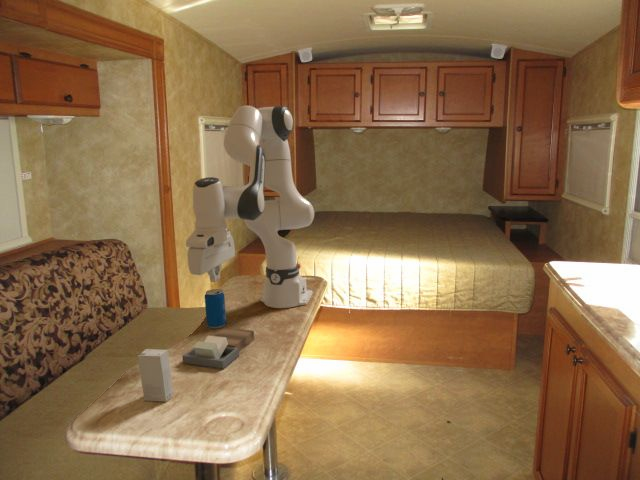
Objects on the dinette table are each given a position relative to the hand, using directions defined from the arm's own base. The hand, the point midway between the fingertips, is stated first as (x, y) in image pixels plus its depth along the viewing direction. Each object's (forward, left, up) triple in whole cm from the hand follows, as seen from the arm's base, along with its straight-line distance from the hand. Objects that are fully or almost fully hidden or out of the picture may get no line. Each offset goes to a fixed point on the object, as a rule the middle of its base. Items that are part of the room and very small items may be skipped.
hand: (215, 280), depth 154 cm
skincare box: (+32, +2, -21) cm, 38 cm away
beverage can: (-15, -10, -21) cm, 28 cm away
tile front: (+10, +2, -17) cm, 20 cm away
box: (+9, +3, -21) cm, 23 cm away
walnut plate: (-2, +3, -21) cm, 21 cm away
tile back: (+6, +2, -19) cm, 20 cm away
